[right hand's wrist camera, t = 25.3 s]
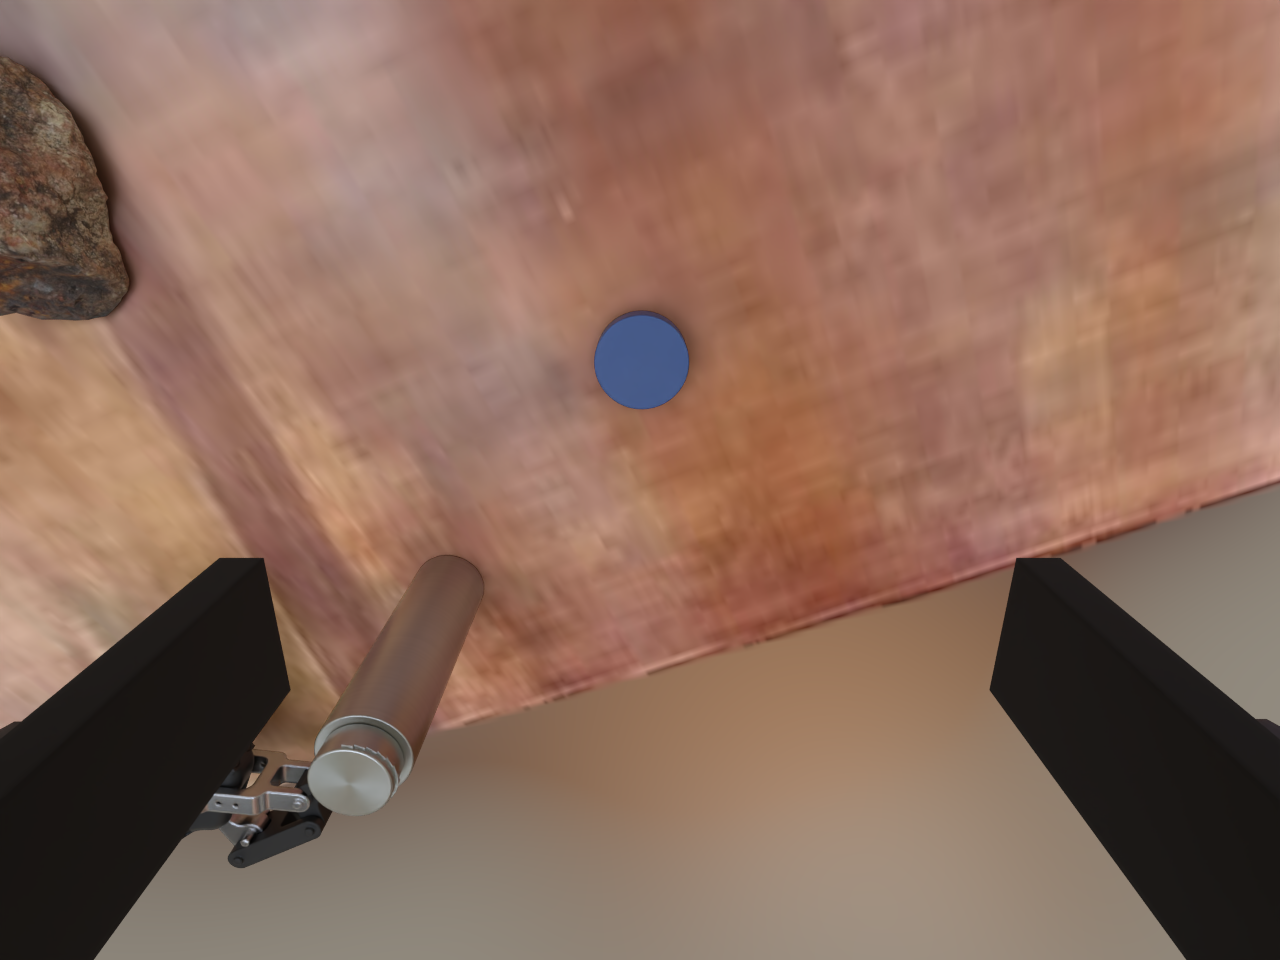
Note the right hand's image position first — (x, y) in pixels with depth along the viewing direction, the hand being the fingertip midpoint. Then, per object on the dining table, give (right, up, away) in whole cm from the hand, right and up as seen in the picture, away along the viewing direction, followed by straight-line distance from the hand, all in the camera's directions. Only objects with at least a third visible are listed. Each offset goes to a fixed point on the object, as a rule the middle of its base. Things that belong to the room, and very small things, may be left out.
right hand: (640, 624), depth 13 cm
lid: (0, +9, +23) cm, 25 cm away
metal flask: (-11, -4, +29) cm, 32 cm away
